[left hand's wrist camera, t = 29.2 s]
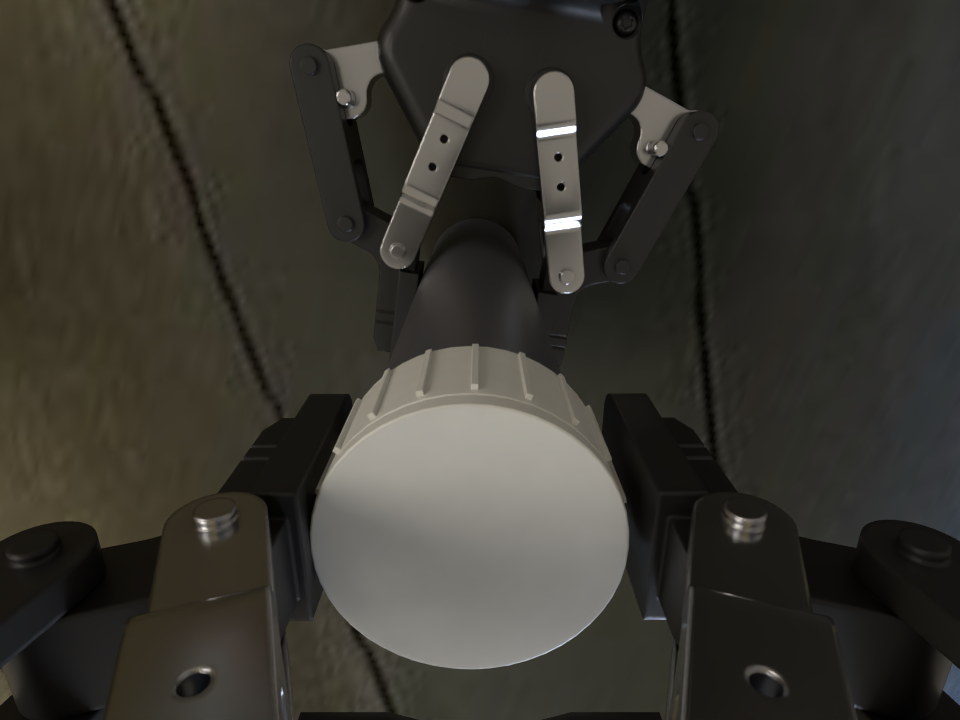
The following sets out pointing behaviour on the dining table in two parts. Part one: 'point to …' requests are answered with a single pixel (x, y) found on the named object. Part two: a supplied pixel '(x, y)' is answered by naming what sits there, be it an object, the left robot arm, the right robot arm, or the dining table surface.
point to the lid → (470, 511)
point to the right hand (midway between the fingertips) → (465, 368)
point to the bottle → (475, 298)
